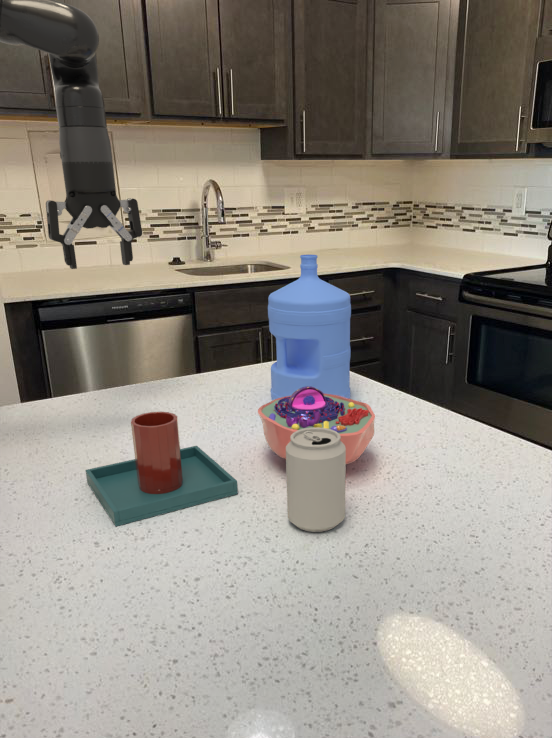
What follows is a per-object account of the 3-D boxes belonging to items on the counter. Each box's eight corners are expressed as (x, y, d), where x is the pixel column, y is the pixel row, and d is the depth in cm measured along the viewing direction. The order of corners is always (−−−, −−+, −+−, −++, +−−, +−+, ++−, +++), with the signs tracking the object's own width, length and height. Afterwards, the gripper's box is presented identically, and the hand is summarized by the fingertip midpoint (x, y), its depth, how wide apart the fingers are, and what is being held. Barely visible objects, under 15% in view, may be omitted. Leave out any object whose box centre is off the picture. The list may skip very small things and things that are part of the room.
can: (317, 541, 81) (317, 451, 77) (275, 521, 86) (272, 435, 82) (357, 519, 86) (358, 433, 82) (314, 501, 91) (313, 419, 87)
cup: (146, 498, 91) (138, 430, 88) (133, 481, 96) (125, 416, 92) (189, 487, 94) (183, 421, 90) (174, 471, 99) (168, 408, 95)
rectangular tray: (115, 526, 85) (113, 512, 84) (87, 482, 97) (85, 469, 96) (238, 494, 93) (237, 480, 93) (197, 457, 105) (196, 445, 105)
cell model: (291, 498, 92) (289, 422, 88) (246, 447, 109) (243, 381, 105) (397, 476, 98) (400, 404, 94) (339, 431, 115) (339, 369, 111)
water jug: (320, 384, 141) (319, 248, 131) (366, 403, 129) (369, 256, 119) (256, 397, 133) (250, 254, 123) (298, 419, 121) (295, 263, 111)
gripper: (43, 159, 96) (59, 272, 102) (139, 159, 103) (150, 265, 109) (34, 160, 102) (50, 267, 108) (126, 160, 109) (136, 261, 115)
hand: (100, 266), depth 108 cm, fingers open, 8 cm apart
